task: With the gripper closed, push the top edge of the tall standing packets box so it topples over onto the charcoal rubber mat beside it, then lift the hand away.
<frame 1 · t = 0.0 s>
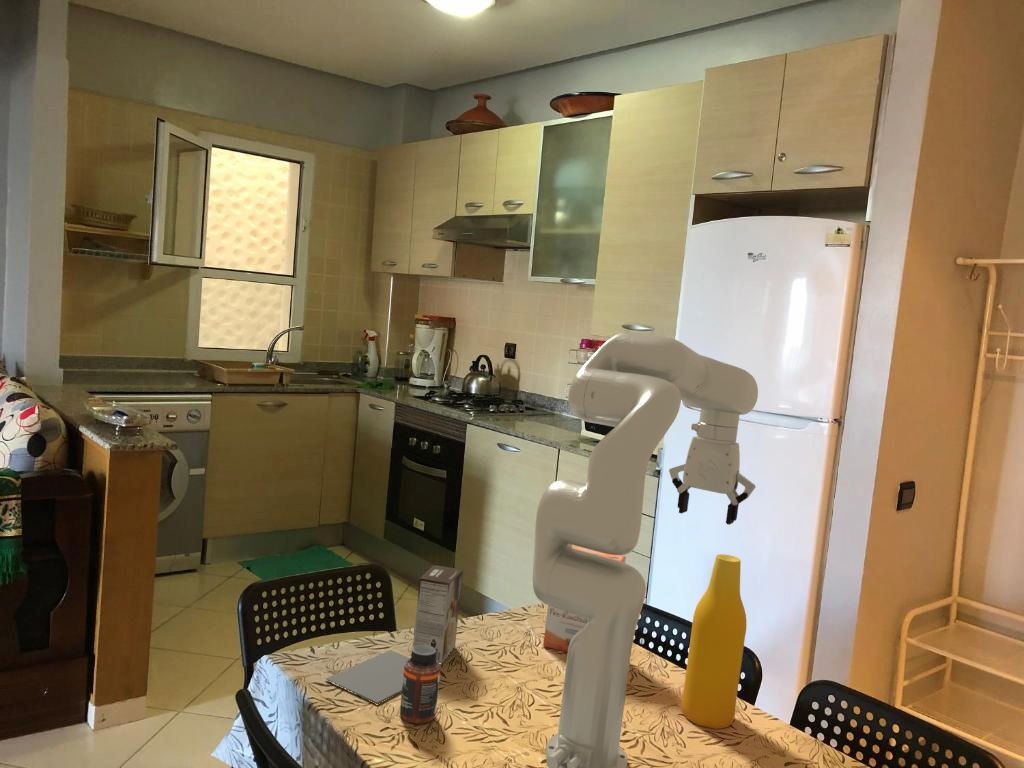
hand: (705, 517, 158), 31 cm above the table, tool pointing down, fingers open, 9 cm apart
cracker box: (578, 651, 163), on the table
coffee box: (433, 653, 154), on the table
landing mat: (384, 676, 142), on the table
supplement bottle: (417, 717, 129), on the table
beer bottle: (706, 717, 140), on the table
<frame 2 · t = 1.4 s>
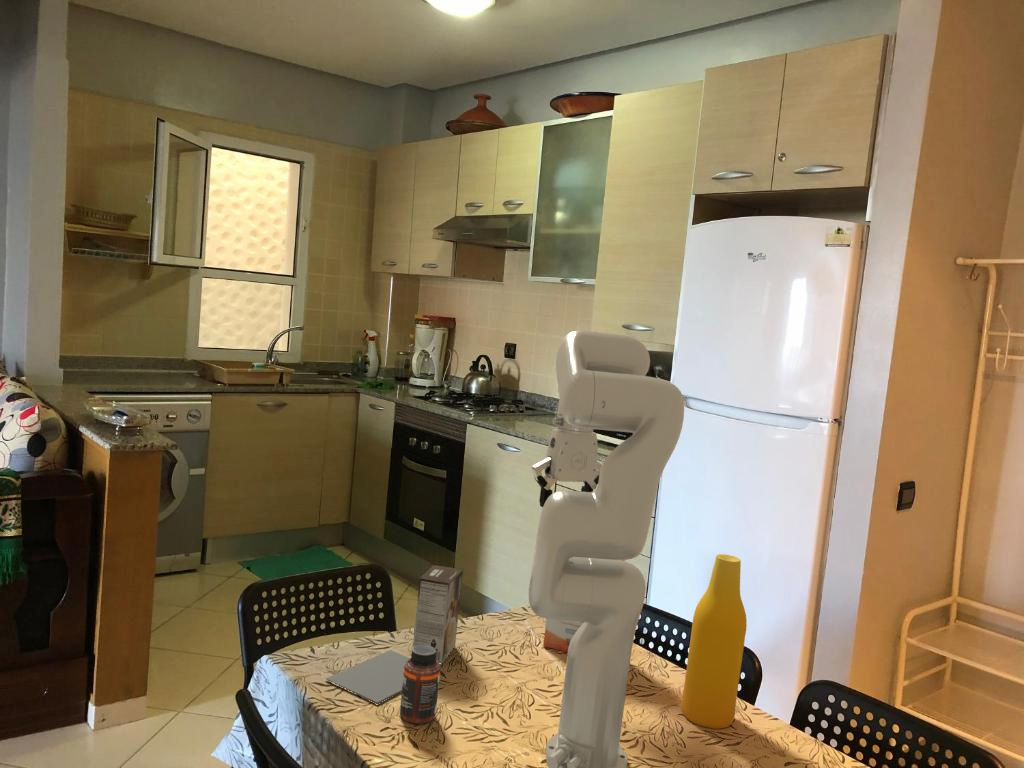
hand: (565, 507, 160), 30 cm above the table, tool pointing down, fingers open, 9 cm apart
nothing on the table moved.
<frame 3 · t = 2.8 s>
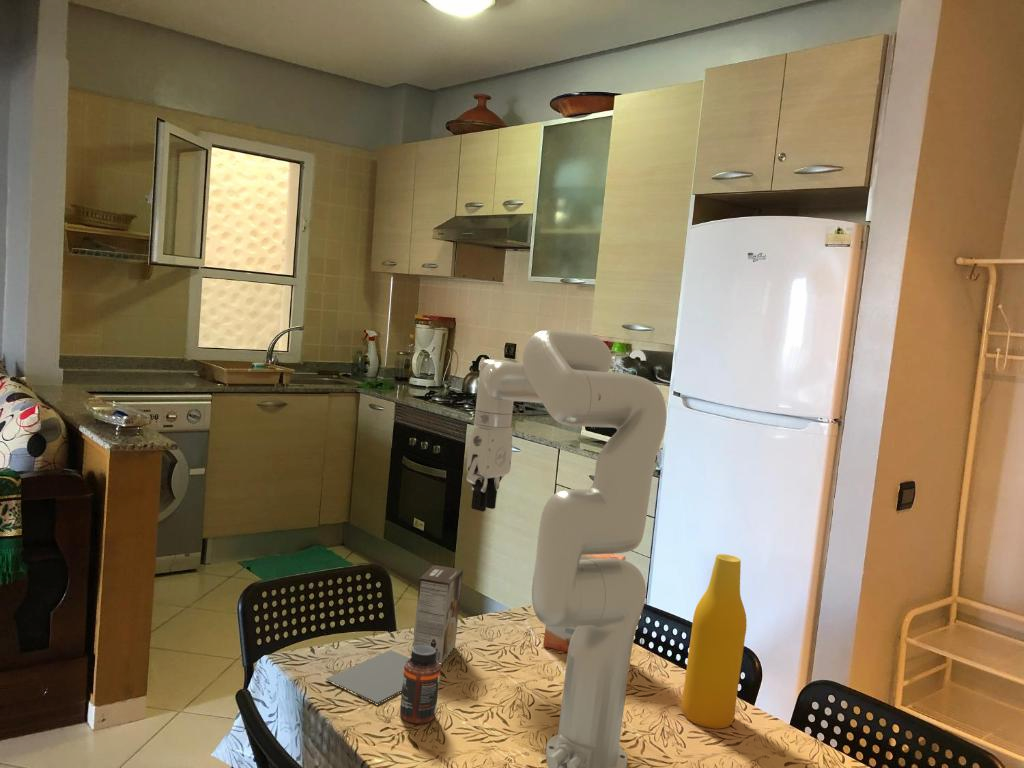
hand: (483, 507, 162), 27 cm above the table, tool pointing down, fingers closed
nothing on the table moved.
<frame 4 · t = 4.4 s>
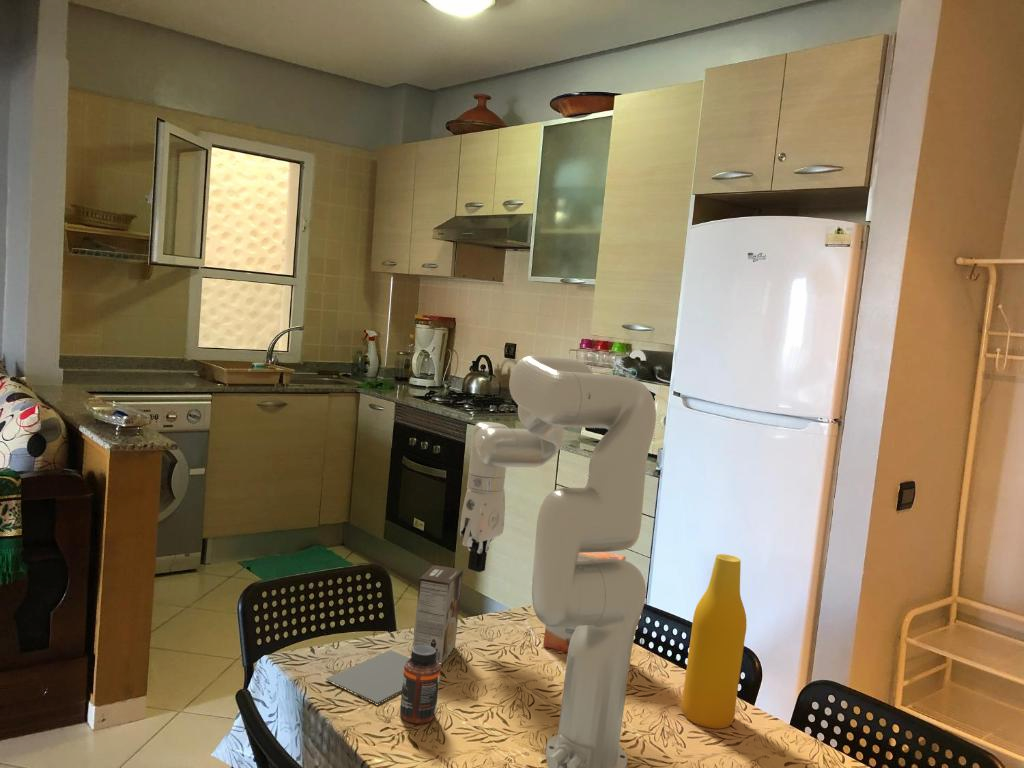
hand: (476, 569, 163), 14 cm above the table, tool pointing down, fingers closed
nothing on the table moved.
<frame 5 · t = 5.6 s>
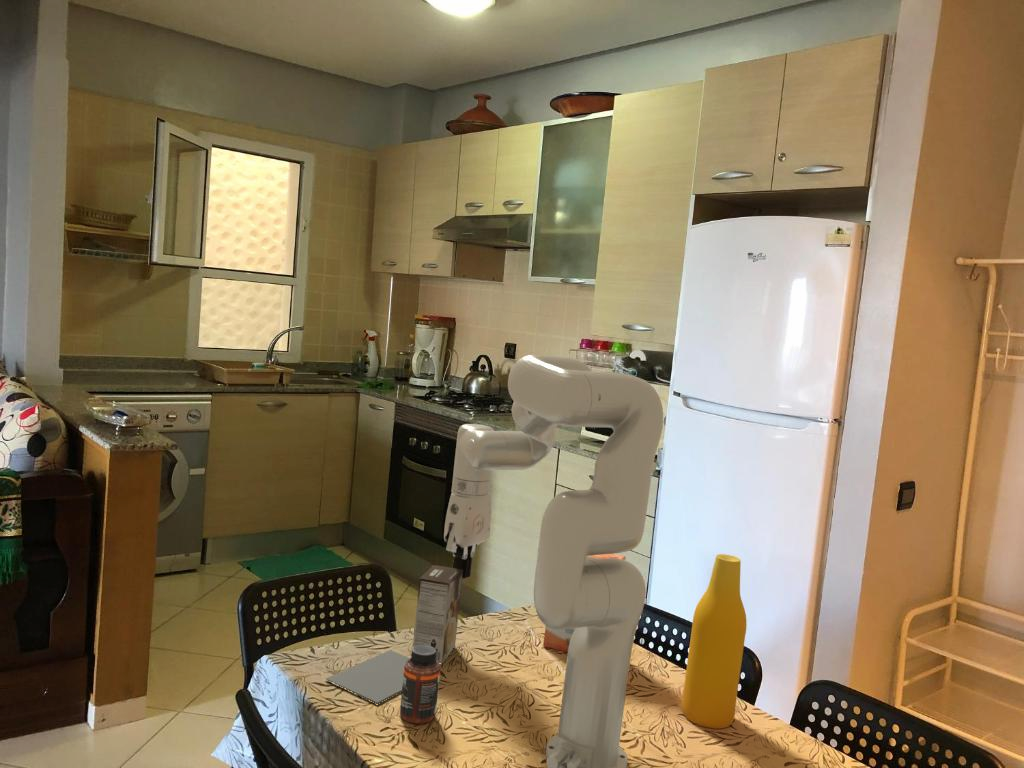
hand: (461, 575, 158), 14 cm above the table, tool pointing down, fingers closed
coffee box: (433, 653, 154), on the table, touching gripper
everything else where it was.
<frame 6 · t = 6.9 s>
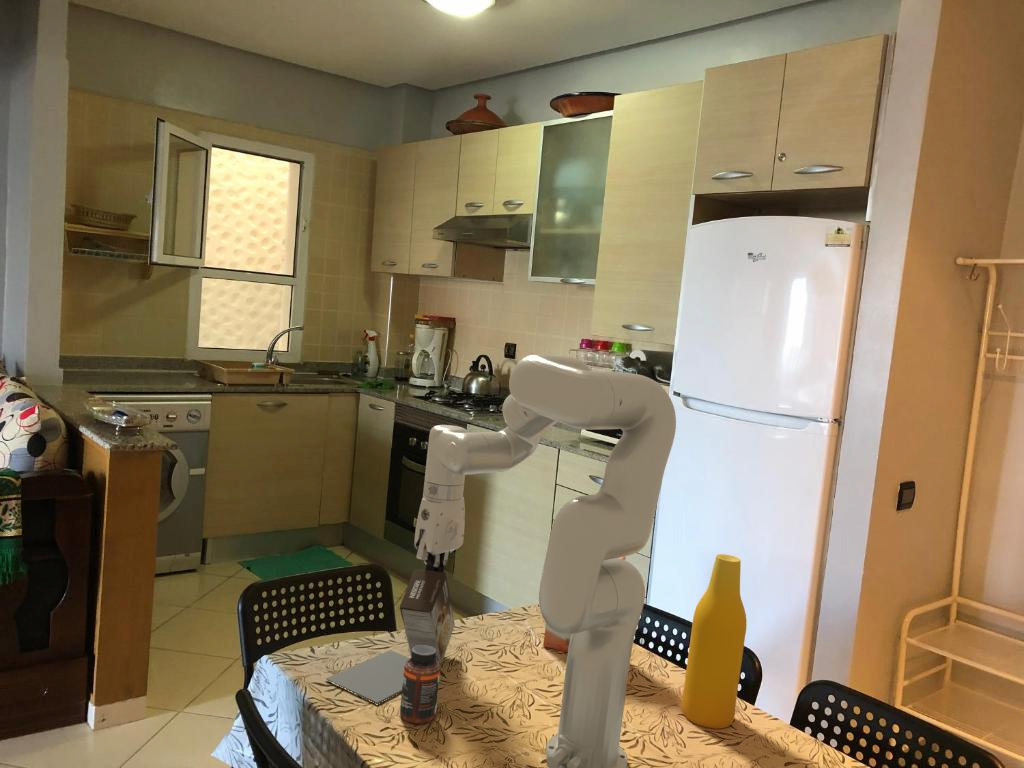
hand: (433, 584, 151), 14 cm above the table, tool pointing down, fingers closed
coffee box: (433, 642, 153), point 2 cm above the table, touching gripper
everything else where it was.
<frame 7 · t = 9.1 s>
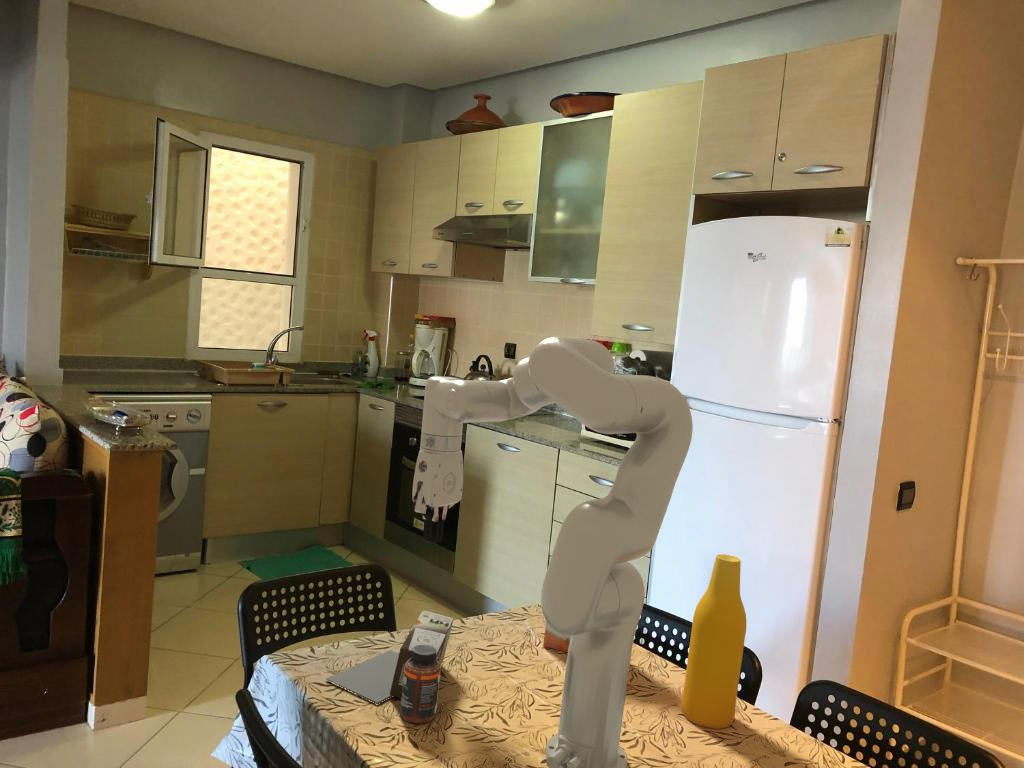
hand: (432, 540, 147), 24 cm above the table, tool pointing down, fingers closed
coffee box: (433, 635, 149), point 5 cm above the table, touching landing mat
everything else where it was.
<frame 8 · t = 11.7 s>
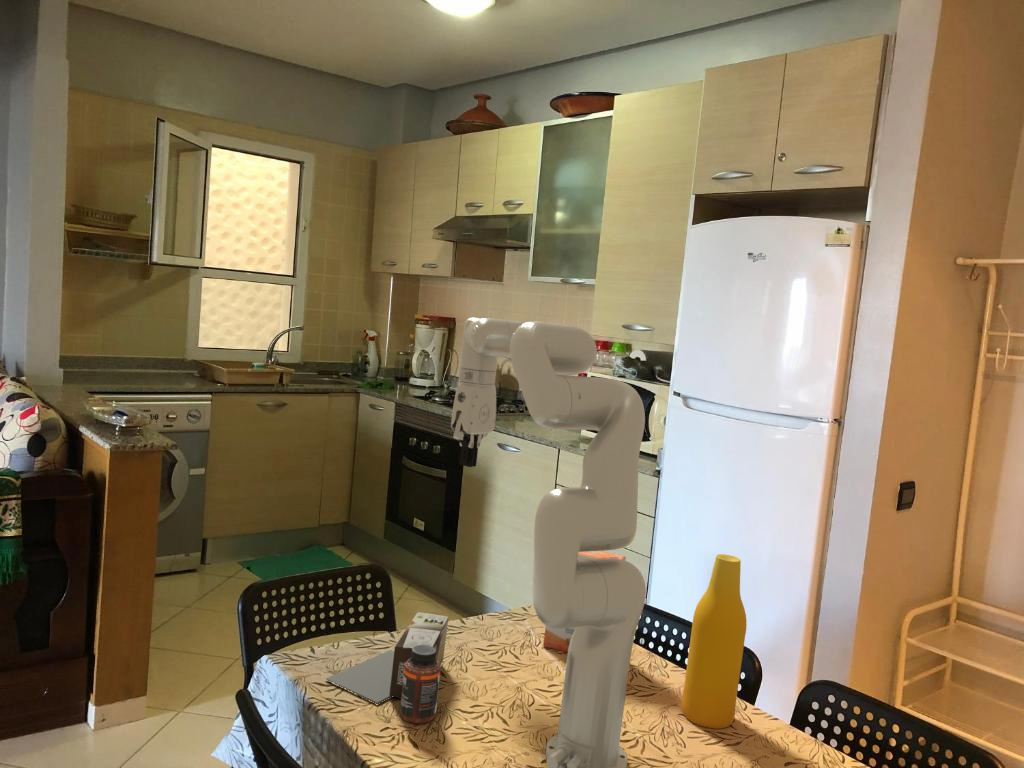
hand: (467, 465, 164), 35 cm above the table, tool pointing down, fingers closed
coffee box: (430, 636, 149), point 5 cm above the table, touching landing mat
everything else where it was.
at the end: coffee box tilted 90°; coffee box inside the target area (3.4 cm from its centre), point 5.0 cm above the table; coffee box touching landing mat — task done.
